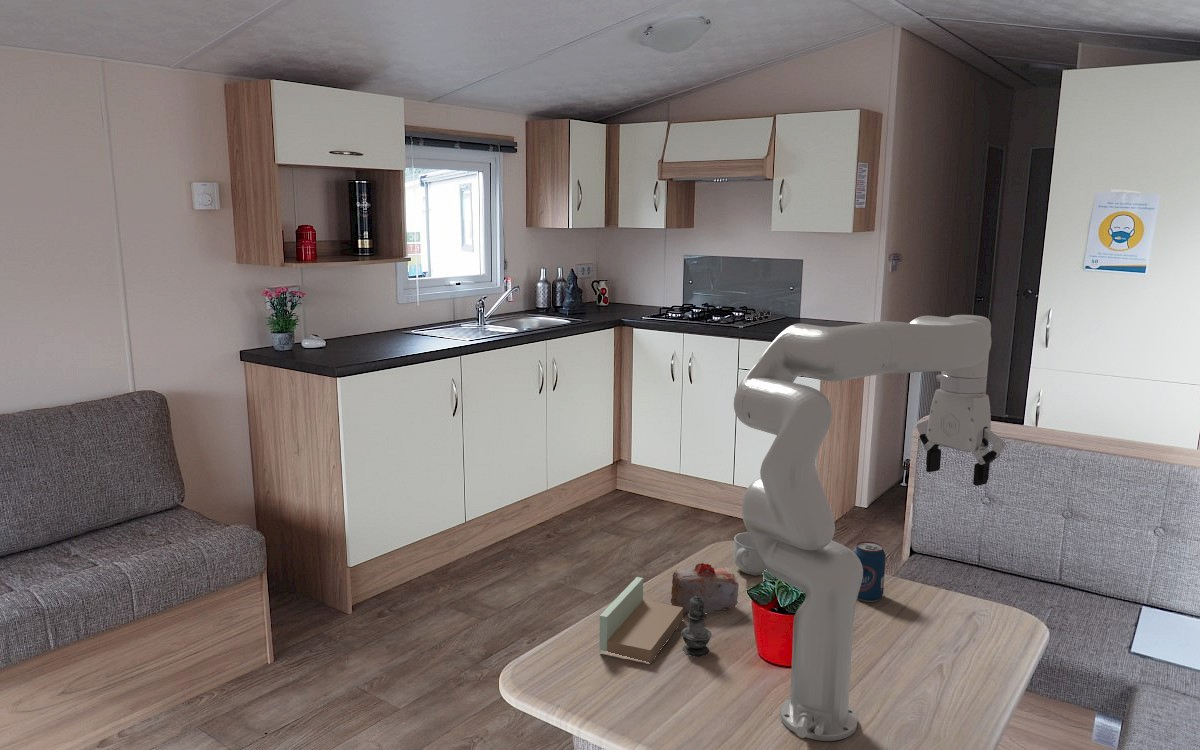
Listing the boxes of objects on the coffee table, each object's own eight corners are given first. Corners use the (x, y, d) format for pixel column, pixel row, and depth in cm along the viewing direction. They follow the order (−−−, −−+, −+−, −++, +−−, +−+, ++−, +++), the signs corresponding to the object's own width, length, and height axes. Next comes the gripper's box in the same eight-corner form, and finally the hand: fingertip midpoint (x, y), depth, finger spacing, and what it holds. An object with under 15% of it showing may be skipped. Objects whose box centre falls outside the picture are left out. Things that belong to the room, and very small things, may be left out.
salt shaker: (687, 659, 165) (688, 600, 163) (676, 645, 171) (677, 588, 168) (715, 655, 167) (717, 597, 164) (704, 641, 172) (705, 585, 170)
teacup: (752, 558, 215) (753, 528, 213) (787, 572, 207) (789, 540, 205) (714, 573, 206) (715, 541, 204) (749, 587, 198) (751, 554, 196)
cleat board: (650, 664, 163) (651, 625, 161) (599, 653, 167) (599, 615, 166) (682, 620, 181) (683, 585, 180) (636, 611, 185) (636, 576, 184)
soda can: (846, 597, 192) (848, 546, 190) (857, 587, 198) (860, 538, 196) (876, 606, 188) (879, 554, 186) (887, 595, 194) (890, 544, 192)
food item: (727, 597, 193) (728, 555, 191) (740, 613, 185) (741, 569, 183) (668, 602, 190) (669, 560, 188) (679, 618, 182) (680, 574, 180)
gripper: (908, 379, 158) (902, 469, 161) (995, 395, 143) (986, 493, 146) (934, 375, 162) (928, 463, 165) (1021, 390, 147) (1012, 486, 150)
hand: (955, 477), depth 156 cm, fingers open, 9 cm apart
